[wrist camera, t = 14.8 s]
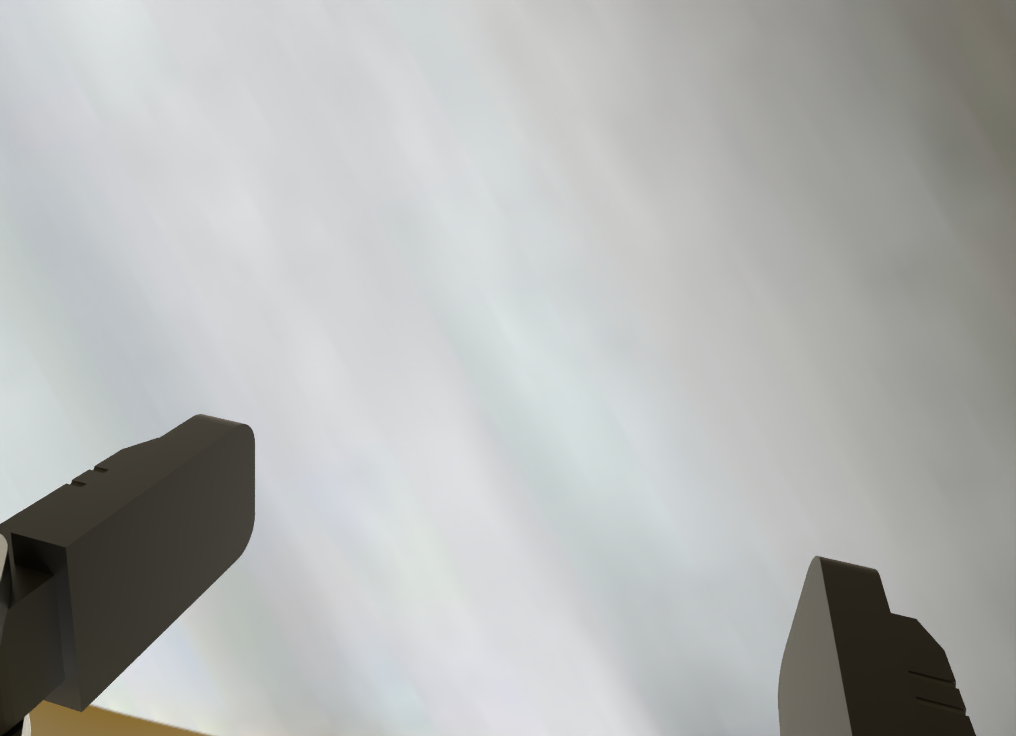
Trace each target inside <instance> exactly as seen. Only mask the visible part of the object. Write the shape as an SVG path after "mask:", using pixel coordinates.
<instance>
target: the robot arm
mask: <svg viewBox="0 0 1016 736" xmlns="http://www.w3.org/2000/svg"><path fill="white" fill-rule="evenodd" d="M254 520H255V438H254V434H253V431H252V429H251V427H249V426H248V425H246V424H242V423H238V422H234V421H229V420H225V419H221V418H216V417H212V416H207V415H203V414H199V415H195V416H193V417H192V418H190V419H188V420H187V421H185V422H184V423H182V424H181V425H179V426H177V427H176V428H174V429H173V430H171V431H170V432H168V433H166V434H165V435H163V436H162V437H160V438H156V439H153V440H150V441H146V442H143V443H140V444H137V445H134V446H131V447H128V448H125V449H122V450H120V451H119V452H117V453H115V454H114V455H112V456H110V457H109V458H107V459H106V460H104V461H102V462H101V463H99V464H97V465H96V466H95V467H94V470H88V471H86V472H84V473H83V474H81V475H79V476H78V477H76V478H75V479H73V480H72V483H71V484H70V485H69V484H65V485H63V486H62V487H60V488H58V489H57V490H55V491H53V492H52V493H50V494H48V495H47V496H45V497H44V498H42V499H40V500H39V501H37V502H35V503H34V504H32V505H31V506H29V507H27V508H26V509H24V510H22V511H21V512H19V513H17V514H16V515H14V516H13V517H11V518H9V519H8V520H6V521H4V522H3V523H1V524H0V736H31V726H30V718H29V712H30V711H32V710H33V709H34V708H35V707H36V706H37V705H38V704H39V703H40V702H41V701H42V700H45V701H48V702H52V703H55V704H58V705H61V706H64V707H68V708H71V709H74V710H77V711H80V712H82V711H83V710H84V709H85V708H86V707H87V706H88V705H89V704H90V703H92V702H93V701H94V700H95V699H96V698H97V697H98V696H99V695H100V694H101V693H102V692H103V691H104V690H105V689H106V688H107V687H108V686H109V685H110V684H111V683H112V682H113V681H114V680H115V679H116V678H117V677H118V676H119V675H120V674H121V673H122V672H123V671H124V670H125V669H126V668H127V667H128V666H129V665H130V664H131V663H132V662H133V661H134V660H135V659H136V658H137V657H138V656H139V655H141V654H142V653H143V652H144V651H145V650H146V649H147V648H148V647H149V646H150V645H151V644H152V643H153V642H154V641H155V640H156V639H157V638H158V637H159V636H160V635H161V634H162V633H163V632H164V631H165V630H166V629H167V628H168V627H169V626H170V625H171V624H172V623H173V622H174V621H175V620H176V619H177V618H178V617H179V616H180V615H181V614H182V613H183V612H184V611H185V610H186V609H187V608H188V607H189V606H191V605H192V604H193V603H194V602H195V601H196V600H197V599H198V598H199V597H200V596H201V595H202V594H203V593H204V592H205V591H206V590H207V589H208V588H209V587H210V586H211V585H212V584H213V583H214V582H215V581H216V580H217V579H218V578H219V577H220V576H221V575H222V574H223V573H224V572H225V571H226V570H227V569H228V568H229V567H230V566H231V565H232V564H233V563H234V562H235V561H236V560H237V559H238V558H239V557H240V556H241V555H242V553H243V552H244V550H245V548H246V546H247V544H248V542H249V540H250V537H251V534H252V531H253V526H254ZM778 709H779V722H780V735H781V736H976V735H975V732H974V729H973V726H972V724H971V721H970V718H969V716H966V714H965V713H966V708H965V705H964V702H963V699H962V697H961V694H960V691H959V689H957V688H956V681H955V678H954V675H953V673H952V670H951V667H950V664H949V662H948V659H947V656H946V654H945V651H944V650H943V648H942V647H941V646H940V645H939V644H938V643H937V642H936V641H935V640H934V638H933V637H932V636H931V635H930V634H929V633H928V632H927V631H926V629H925V628H924V627H923V626H922V625H921V624H920V623H919V622H918V620H917V619H914V618H909V617H905V616H901V615H897V614H893V613H891V612H890V609H889V605H888V602H887V599H886V595H885V592H884V588H883V585H882V582H881V578H880V575H879V573H878V571H877V570H876V569H872V568H868V567H863V566H859V565H855V564H850V563H846V562H841V561H837V560H833V559H828V558H824V557H820V556H815V557H814V558H813V560H812V562H811V564H810V566H809V569H808V572H807V575H806V579H805V582H804V585H803V589H802V592H801V596H800V599H799V603H798V606H797V610H796V613H795V616H794V620H793V623H792V627H791V630H790V634H789V637H788V640H787V644H786V647H785V651H784V655H783V659H782V664H781V670H780V677H779V686H778Z"/></svg>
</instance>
